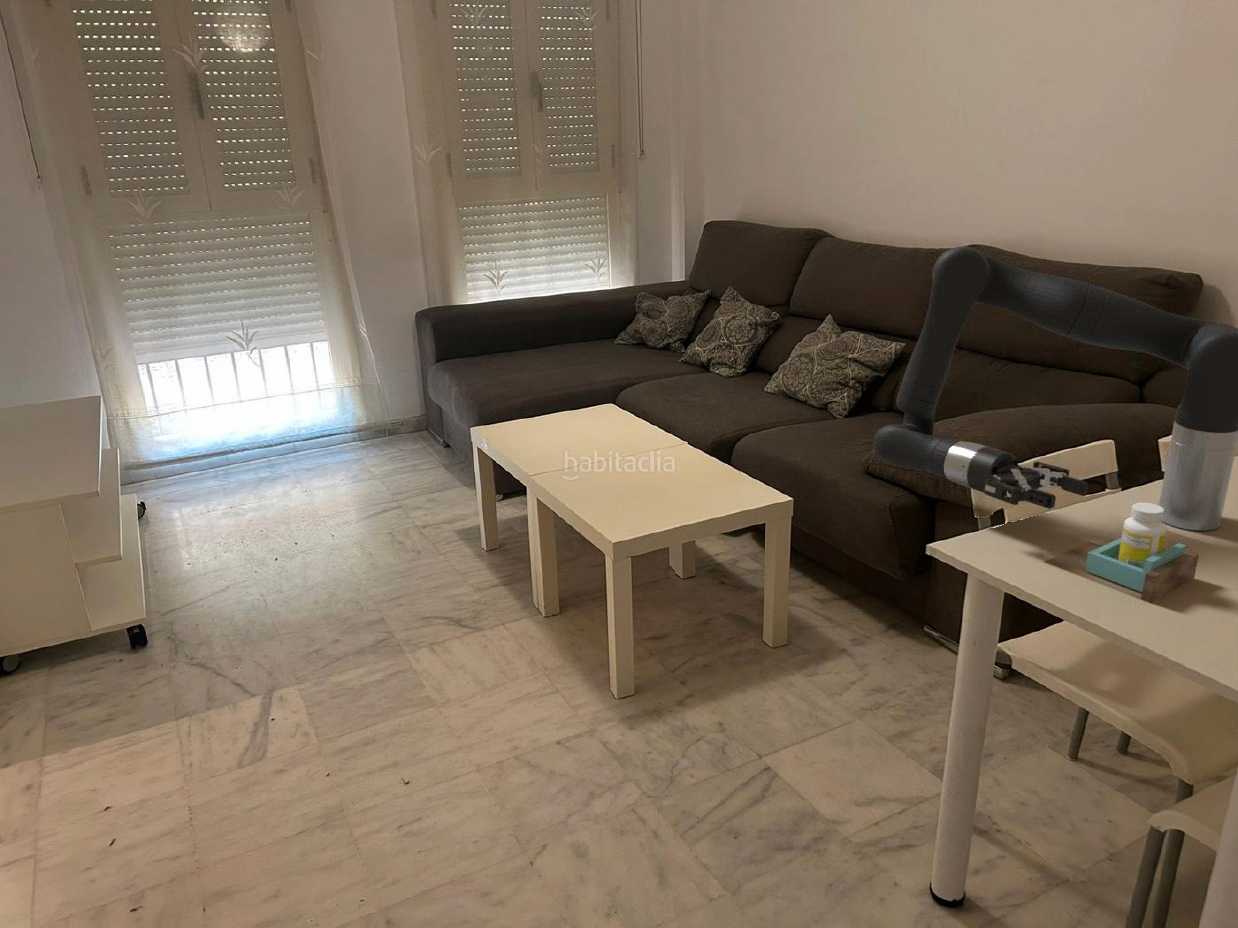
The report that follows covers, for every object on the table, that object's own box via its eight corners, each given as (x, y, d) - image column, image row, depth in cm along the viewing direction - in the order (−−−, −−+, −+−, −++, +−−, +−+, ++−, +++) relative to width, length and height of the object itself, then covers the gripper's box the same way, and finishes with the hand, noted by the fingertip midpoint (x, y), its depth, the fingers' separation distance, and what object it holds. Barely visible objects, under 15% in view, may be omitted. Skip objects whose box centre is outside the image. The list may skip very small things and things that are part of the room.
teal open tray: (1118, 554, 138) (1124, 525, 136) (1179, 576, 131) (1185, 545, 129) (1085, 570, 133) (1090, 540, 132) (1146, 594, 126) (1152, 562, 124)
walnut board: (1087, 550, 144) (1092, 518, 142) (1192, 587, 131) (1199, 553, 129) (1042, 570, 138) (1047, 537, 136) (1147, 612, 125) (1154, 576, 123)
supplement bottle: (1144, 560, 134) (1156, 499, 130) (1166, 576, 129) (1179, 514, 125) (1109, 561, 134) (1119, 501, 130) (1129, 578, 129) (1141, 516, 125)
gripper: (953, 455, 146) (1045, 483, 133) (1007, 437, 153) (1100, 462, 140) (950, 498, 148) (1039, 529, 135) (1003, 478, 155) (1093, 506, 143)
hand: (1070, 495), depth 138 cm, fingers open, 8 cm apart
